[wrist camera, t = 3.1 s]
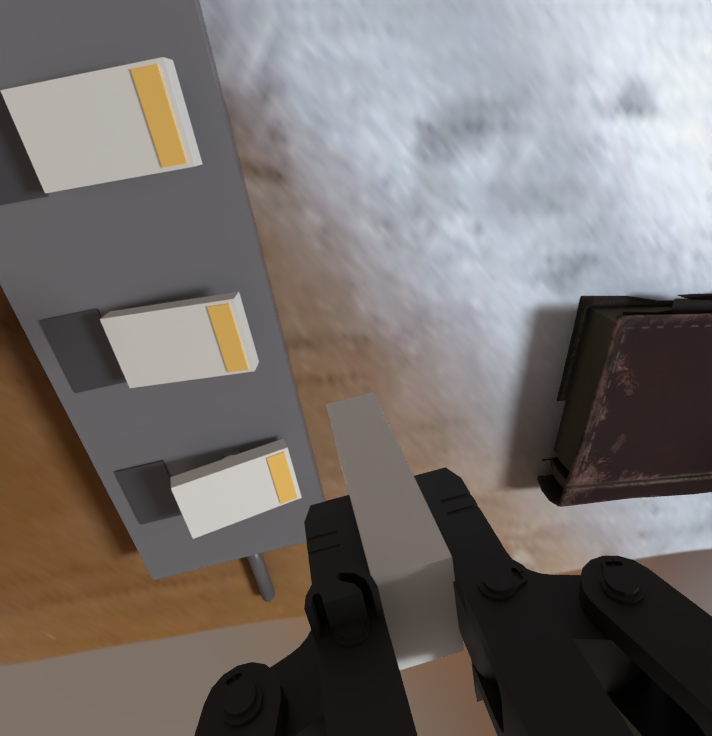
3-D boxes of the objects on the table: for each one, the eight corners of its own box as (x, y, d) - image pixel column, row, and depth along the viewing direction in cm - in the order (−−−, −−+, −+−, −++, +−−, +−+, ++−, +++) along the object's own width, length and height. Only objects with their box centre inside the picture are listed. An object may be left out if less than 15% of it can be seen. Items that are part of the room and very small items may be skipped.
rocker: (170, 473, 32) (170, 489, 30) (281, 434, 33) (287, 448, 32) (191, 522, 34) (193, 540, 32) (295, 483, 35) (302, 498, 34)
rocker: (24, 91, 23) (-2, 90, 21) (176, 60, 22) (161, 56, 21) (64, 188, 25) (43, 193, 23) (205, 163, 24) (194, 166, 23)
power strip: (-113, -22, 23) (-179, -50, 20) (182, -66, 24) (168, -100, 21) (194, 612, 44) (188, 653, 41) (343, 574, 45) (350, 610, 42)
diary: (759, 459, 49) (808, 492, 45) (531, 478, 45) (560, 517, 41) (849, 280, 41) (919, 299, 36) (580, 283, 37) (623, 305, 32)
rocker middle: (114, 308, 28) (98, 319, 26) (240, 288, 27) (233, 299, 26) (141, 374, 30) (128, 389, 28) (260, 358, 29) (254, 372, 28)
